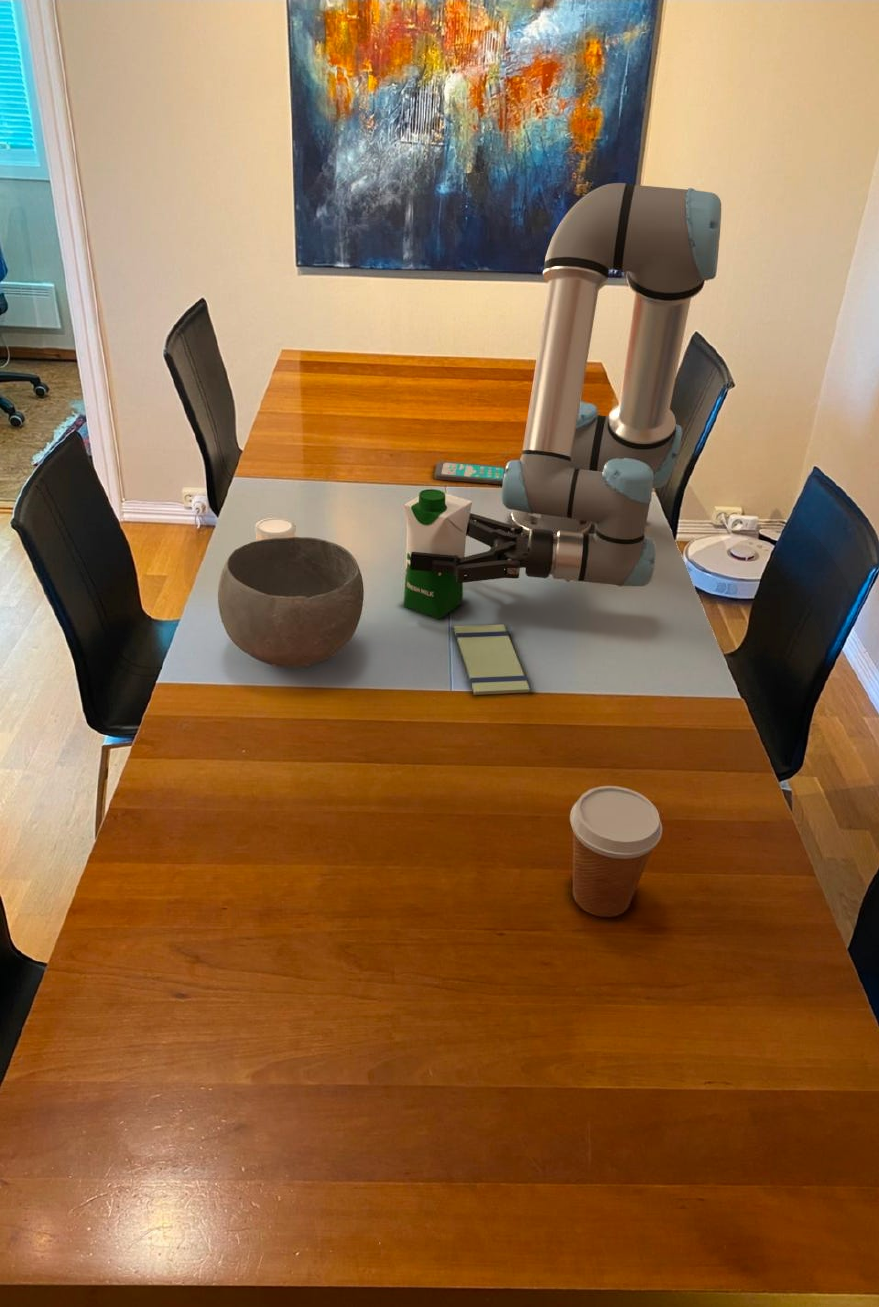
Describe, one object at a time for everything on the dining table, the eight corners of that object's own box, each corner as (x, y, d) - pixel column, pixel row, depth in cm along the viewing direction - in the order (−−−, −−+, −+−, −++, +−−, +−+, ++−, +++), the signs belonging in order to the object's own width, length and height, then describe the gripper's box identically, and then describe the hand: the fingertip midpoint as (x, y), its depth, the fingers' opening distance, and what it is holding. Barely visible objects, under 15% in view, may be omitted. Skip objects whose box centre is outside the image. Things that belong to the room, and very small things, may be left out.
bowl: (248, 704, 134) (242, 609, 126) (205, 632, 149) (197, 543, 141) (385, 672, 143) (387, 581, 135) (331, 607, 158) (331, 521, 150)
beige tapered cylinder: (289, 574, 166) (288, 536, 163) (250, 568, 167) (248, 531, 164) (302, 556, 172) (301, 520, 168) (264, 551, 173) (263, 514, 169)
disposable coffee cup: (550, 865, 111) (563, 783, 105) (633, 863, 112) (650, 782, 106) (567, 930, 103) (581, 846, 97) (655, 927, 104) (675, 844, 98)
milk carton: (395, 607, 159) (399, 491, 148) (426, 585, 166) (431, 474, 155) (441, 624, 155) (448, 507, 144) (470, 601, 162) (479, 488, 151)
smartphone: (437, 459, 211) (507, 465, 210) (437, 464, 212) (507, 469, 211) (434, 475, 204) (506, 480, 203) (433, 479, 204) (505, 485, 204)
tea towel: (503, 627, 155) (504, 624, 155) (529, 692, 140) (530, 688, 140) (453, 629, 154) (453, 625, 154) (474, 695, 139) (474, 691, 139)
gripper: (548, 614, 145) (405, 600, 146) (550, 542, 166) (424, 530, 167) (554, 569, 141) (406, 555, 142) (555, 500, 162) (426, 489, 163)
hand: (416, 541), depth 155 cm, fingers open, 12 cm apart
